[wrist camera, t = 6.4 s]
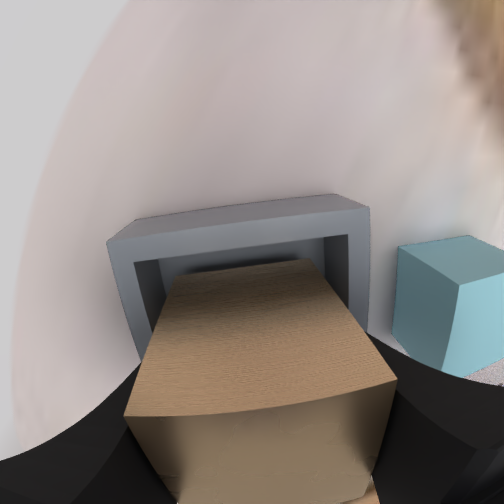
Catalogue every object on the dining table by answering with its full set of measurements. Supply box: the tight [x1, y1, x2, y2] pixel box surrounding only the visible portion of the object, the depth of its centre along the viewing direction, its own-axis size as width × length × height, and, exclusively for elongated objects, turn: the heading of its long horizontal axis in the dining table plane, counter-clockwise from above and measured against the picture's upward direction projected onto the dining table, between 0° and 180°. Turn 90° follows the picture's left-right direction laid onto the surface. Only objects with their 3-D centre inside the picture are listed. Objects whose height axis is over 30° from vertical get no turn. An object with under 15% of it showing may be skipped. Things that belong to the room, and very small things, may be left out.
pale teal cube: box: [392, 235, 504, 378], centre depth 12 cm, size 5×5×5 cm
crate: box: [106, 194, 370, 362], centre depth 12 cm, size 9×9×4 cm
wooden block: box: [124, 258, 398, 504], centre depth 9 cm, size 5×5×7 cm
